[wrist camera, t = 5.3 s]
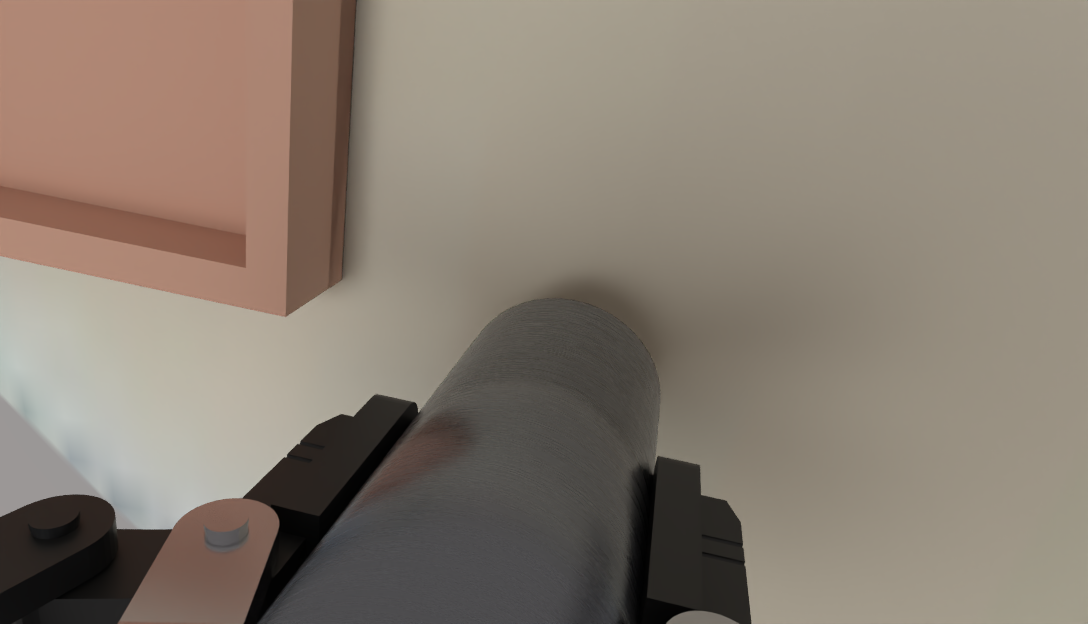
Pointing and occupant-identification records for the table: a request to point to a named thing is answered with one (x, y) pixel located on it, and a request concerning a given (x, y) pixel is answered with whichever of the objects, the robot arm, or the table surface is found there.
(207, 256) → the tray
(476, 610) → the shaker
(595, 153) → the table surface
